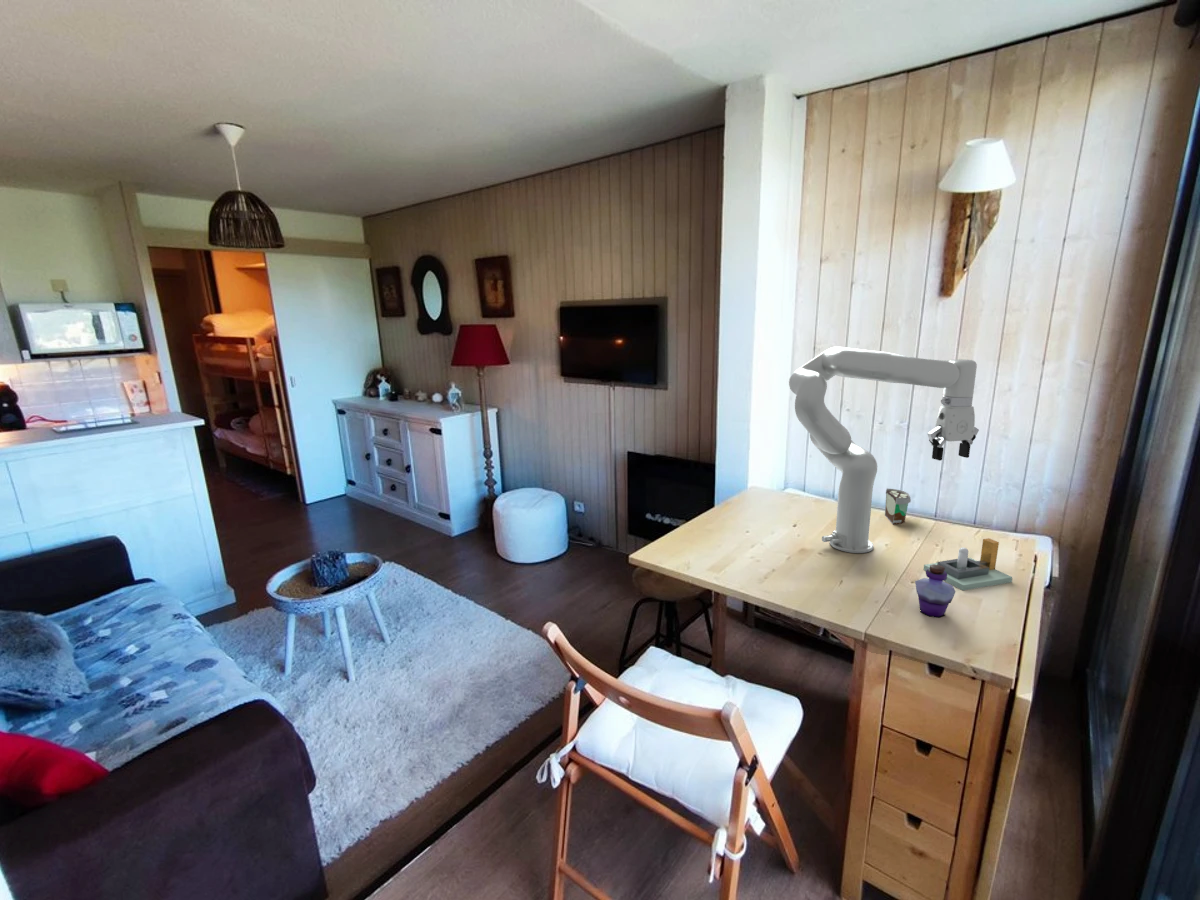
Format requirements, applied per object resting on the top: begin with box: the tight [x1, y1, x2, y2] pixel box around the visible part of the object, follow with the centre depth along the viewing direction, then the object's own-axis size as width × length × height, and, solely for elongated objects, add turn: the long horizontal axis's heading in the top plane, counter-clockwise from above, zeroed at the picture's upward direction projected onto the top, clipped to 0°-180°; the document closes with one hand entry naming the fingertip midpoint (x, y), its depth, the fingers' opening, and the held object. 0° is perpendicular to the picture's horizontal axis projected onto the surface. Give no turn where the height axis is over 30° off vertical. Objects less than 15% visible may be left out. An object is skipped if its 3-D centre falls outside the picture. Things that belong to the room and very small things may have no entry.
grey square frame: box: [936, 537, 1000, 579], centre depth 151 cm, size 14×7×8 cm, turn 104°
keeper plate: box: [923, 547, 1013, 591], centre depth 151 cm, size 16×13×9 cm
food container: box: [884, 488, 912, 526], centre depth 193 cm, size 12×6×10 cm, turn 168°
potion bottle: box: [914, 563, 956, 619], centre depth 133 cm, size 9×9×12 cm
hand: (950, 458), depth 166 cm, fingers open, 9 cm apart
